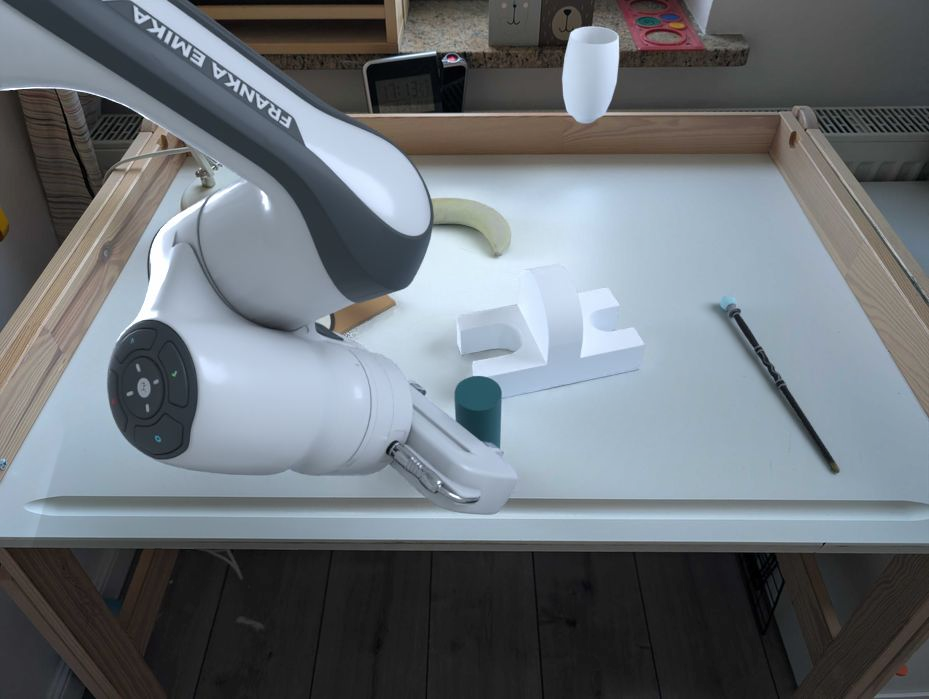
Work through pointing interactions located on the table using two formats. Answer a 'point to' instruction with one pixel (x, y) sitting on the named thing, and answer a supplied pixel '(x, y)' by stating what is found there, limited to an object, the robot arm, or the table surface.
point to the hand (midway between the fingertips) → (454, 423)
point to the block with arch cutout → (550, 335)
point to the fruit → (474, 220)
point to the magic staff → (775, 374)
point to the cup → (590, 72)
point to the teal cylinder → (479, 408)
